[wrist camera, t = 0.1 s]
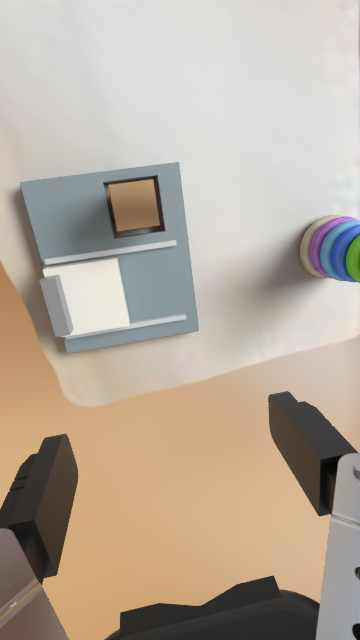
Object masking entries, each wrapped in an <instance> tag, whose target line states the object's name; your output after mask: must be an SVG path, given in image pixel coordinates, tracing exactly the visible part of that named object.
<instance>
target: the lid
mask: <svg viewBox="0 0 360 640" xmlns="http://www.w3.org/2000/svg"><path fill="white" fill-rule="evenodd" d="M43 273H44V278H42V279H41V280H39V282H40V286H41V289H42V292H43V296H44V299H45V303H46V306H47V310H48V313H49V317H50V320H51V324H52V327H53V330H54V334H55V337H60V336H61V337H66V336H72V335H78V334H84V333H90V332H96V331H102V330H108V329H114V328H120V327H126V326H130V319H129V313H128V308H127V303H126V298H125V293H124V288H123V283H122V278H121V273H120V268H119V263H118V258H117V257H111V258H104V259H98V260H91V261H84V262H78V263H71V264H64V265H58V266H51V267H46V268H45V269H43Z"/></svg>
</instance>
